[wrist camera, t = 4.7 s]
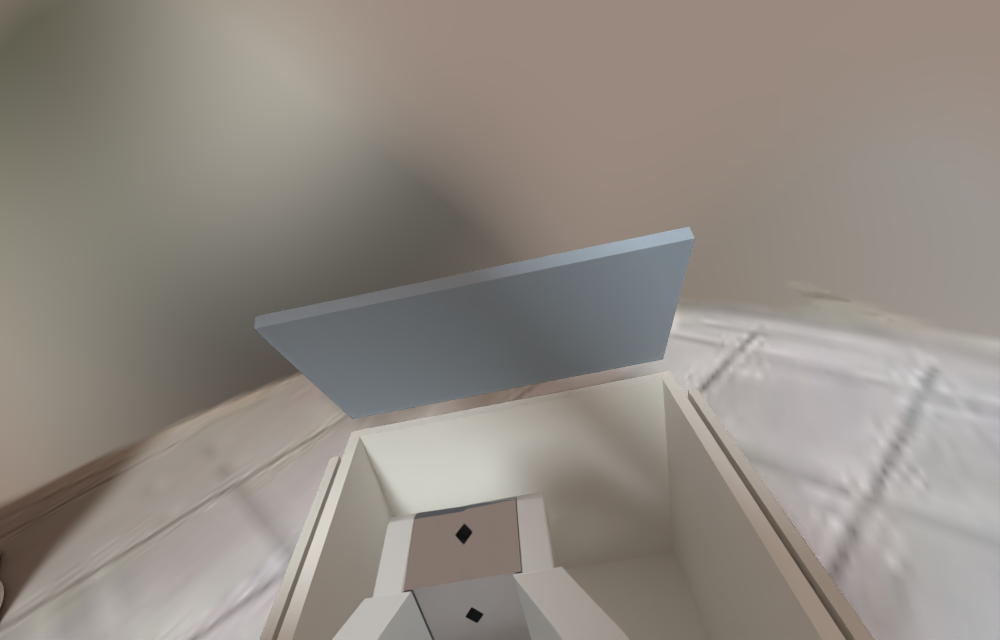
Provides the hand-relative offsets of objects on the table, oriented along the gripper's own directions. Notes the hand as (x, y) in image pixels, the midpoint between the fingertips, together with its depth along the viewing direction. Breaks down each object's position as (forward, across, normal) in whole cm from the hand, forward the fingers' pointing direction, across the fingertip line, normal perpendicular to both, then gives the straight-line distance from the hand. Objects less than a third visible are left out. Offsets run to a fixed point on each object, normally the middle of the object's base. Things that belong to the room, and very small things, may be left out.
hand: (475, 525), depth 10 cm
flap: (+10, 0, +2) cm, 10 cm away
